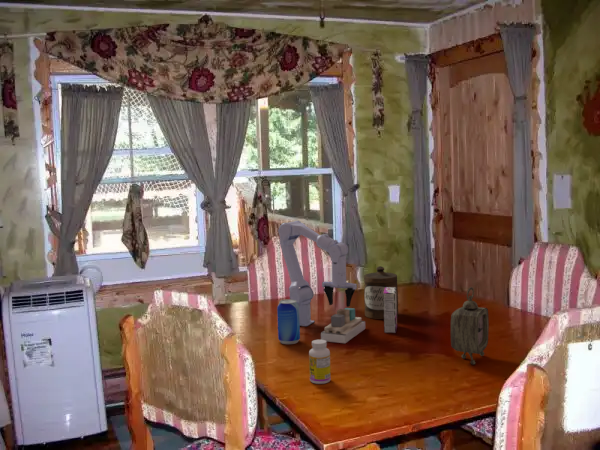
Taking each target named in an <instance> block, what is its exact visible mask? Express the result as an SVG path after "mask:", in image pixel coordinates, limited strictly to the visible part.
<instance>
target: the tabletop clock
mask: <svg viewBox="0 0 600 450" xmlns="http://www.w3.org/2000/svg"><path fill="white" fill-rule="evenodd" d="M470 291H472V295H469V294H470ZM474 295H475V291H474V287H469V288H468V289H467V291H466V300H465V301H464V302H463V304H462V306H461V307H458V308H457V309H455V310H454V311H453V312H452V313H451V316H450V345H451V346H450V347H451V348H452V349H453V350H455V351H456V352H463V354H461V358H462V359H466V358H467V355H466V353H467V354H468V355H469V356H470V364H471V365H472V366H473V365H476V360H475V359H474V358H473V357H474V356H473V354H475V355H476V354H477V355H480V356H481V357H484V355H485V349H487V347H488V345H489V344H488V343H489V328H490V327H489V326H490V325H489V309H488V308H487V307H479V306H478V303H477V302H476V301H474V300H473V298H474Z"/></svg>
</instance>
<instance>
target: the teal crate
mask: <svg viewBox="0 0 600 450" xmlns="http://www.w3.org/2000/svg"><path fill="white" fill-rule="evenodd" d="M344 309H349V316H350V321H352V320H353V319H355V317H356V308H354V307H353V308H352V307H345V308H344Z"/></svg>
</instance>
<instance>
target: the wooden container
mask: <svg viewBox="0 0 600 450" xmlns="http://www.w3.org/2000/svg"><path fill="white" fill-rule="evenodd" d="M375 269H376V272H371V273H370V272H369V273H365V274H364V275H363V281H364V316H365V317H366V318H368V319H374V320H384V306H383V292H384V289H385V288H386V287H395V288H396V301H397V317H399V293H398V292H399V291H398V275H397V274H396V273H392V272H385V267H384V266H377V267H376V268H375Z"/></svg>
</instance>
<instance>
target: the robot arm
mask: <svg viewBox="0 0 600 450" xmlns="http://www.w3.org/2000/svg"><path fill="white" fill-rule="evenodd" d="M277 232H278V235H279V245H280V250H281V252H282V256H283V258H284V262H285V266H286V269H287V272H288V275H289V278H290V282H291V284H290V285H289V287H288V291H289V299H293V300H296V301H297V304H298V305H299V320H300V326H301V327H309V326H310V325H311V324H313V323H315V320H312V319H311V316H312V315H311V314H312V313H311V302H312V300H313V298H314V290H313V288H312V286H310V283H309V282H308V281H307V280H306V279H305V278H304V275H303V272H302V269H301V265H300V262H299V259H298V256H297V252H296V249H295V246H294V244H295V243H296V241H297V239H298V238H299V237H300V236H303V237H305V238H306V239H309V240H311V241H312V242H314V243H316V246H317V247H318V248H320V249H322V250H323V251H325V252H327V253H328V255H329V256H330V260H331V281H322V283H321V287H322V288H323V292H324V293H325V296H326V298H327V300H328V305H329V306H332V305H333V304H334V289H335V288H337V289H345V290H344V293H345V296H346V298H345V299H346V302H345V305H346V308H350V306H351V301H352V299H353V296H354V293H355V291H356V290H357V289H358V288H357V287H358V284H357V283H352V282H348V281H347V255H348V254H349V246H348V245H347V243H345V242H344V241H340V242H339V241H338V239H333V238H331V237H330V236H329V234H328V233H326V234H324V233H323V234H320V233H318V232H316V231H315V230H313V229H312V228H310V227H308V226H307V225H306V224H305V223H303V222H301V221H300V220H295V221H290V222H283V223H281V224H280V225H279V228H278V229H277Z"/></svg>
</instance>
